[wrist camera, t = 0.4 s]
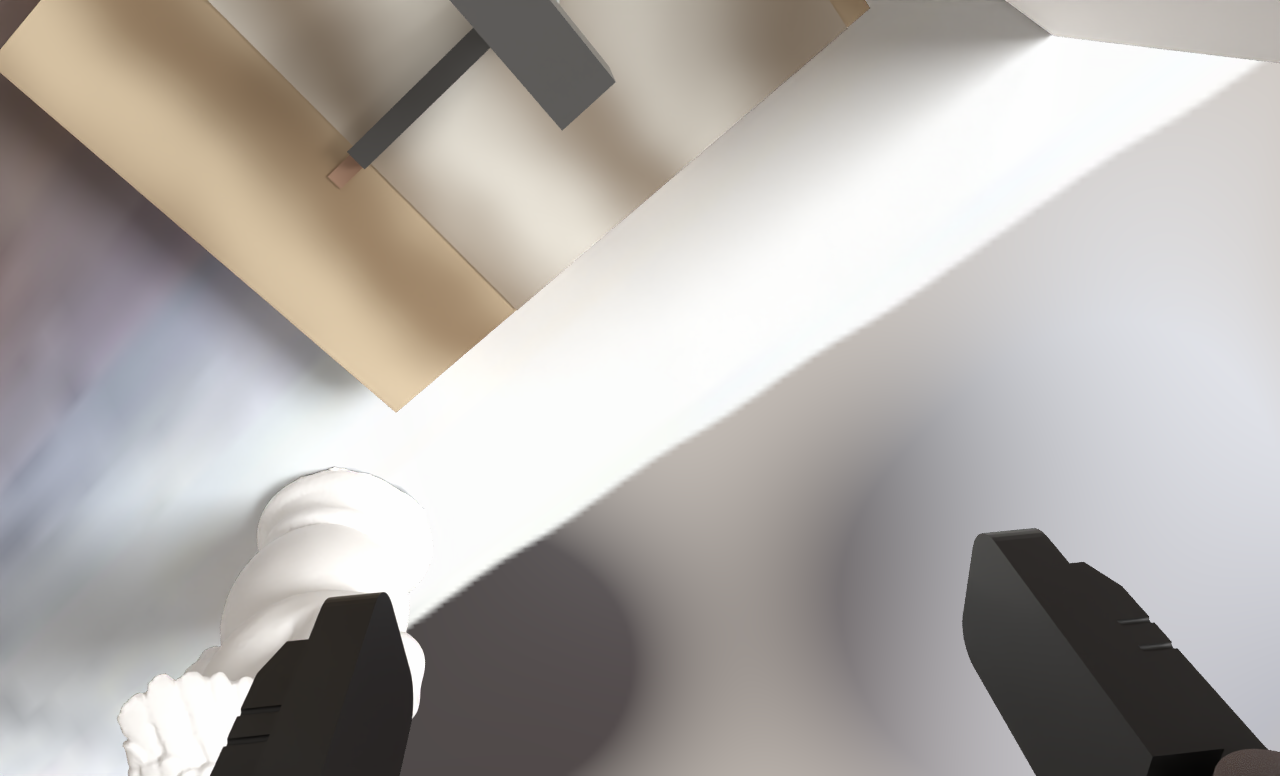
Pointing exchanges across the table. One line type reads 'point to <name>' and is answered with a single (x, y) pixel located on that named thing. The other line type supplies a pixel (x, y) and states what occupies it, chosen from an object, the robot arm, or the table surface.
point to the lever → (531, 49)
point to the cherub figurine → (283, 610)
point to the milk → (1166, 24)
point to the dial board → (397, 146)
